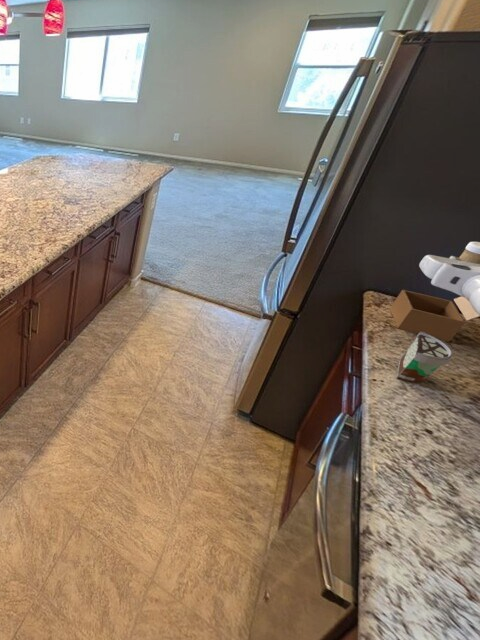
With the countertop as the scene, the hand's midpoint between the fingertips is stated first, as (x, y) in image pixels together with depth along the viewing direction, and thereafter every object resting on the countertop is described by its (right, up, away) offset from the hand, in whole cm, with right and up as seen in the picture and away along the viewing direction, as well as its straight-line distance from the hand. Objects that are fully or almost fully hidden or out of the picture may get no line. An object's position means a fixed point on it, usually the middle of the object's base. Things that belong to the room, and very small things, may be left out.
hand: (467, 261), depth 106 cm
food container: (-20, -31, -4) cm, 36 cm away
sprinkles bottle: (0, -7, +3) cm, 8 cm away
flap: (+7, -13, +5) cm, 15 cm away
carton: (+2, -20, +13) cm, 24 cm away
